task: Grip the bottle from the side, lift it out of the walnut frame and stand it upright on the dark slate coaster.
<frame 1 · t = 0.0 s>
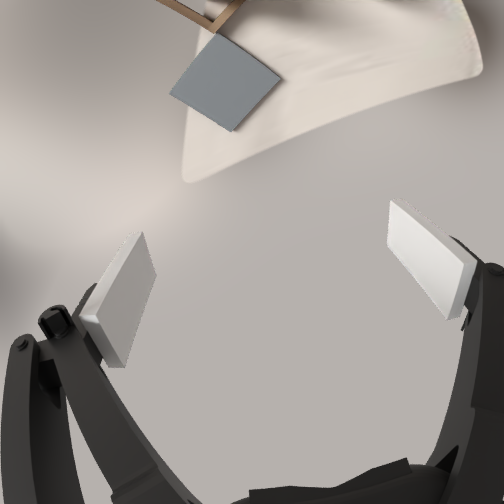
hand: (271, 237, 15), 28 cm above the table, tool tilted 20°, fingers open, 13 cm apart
slate coaster: (224, 82, 33), on the table
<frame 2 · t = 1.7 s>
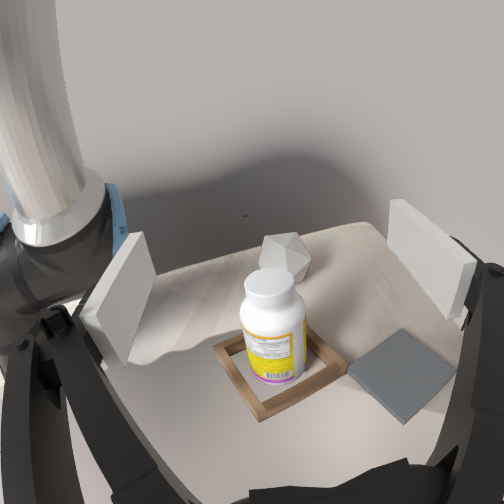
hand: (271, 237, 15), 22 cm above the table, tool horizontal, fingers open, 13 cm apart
slate coaster: (403, 374, 30), on the table
die: (285, 280, 50), on the table
walnut frame: (278, 366, 34), on the table
supplement bottle: (278, 367, 34), resting in walnut frame
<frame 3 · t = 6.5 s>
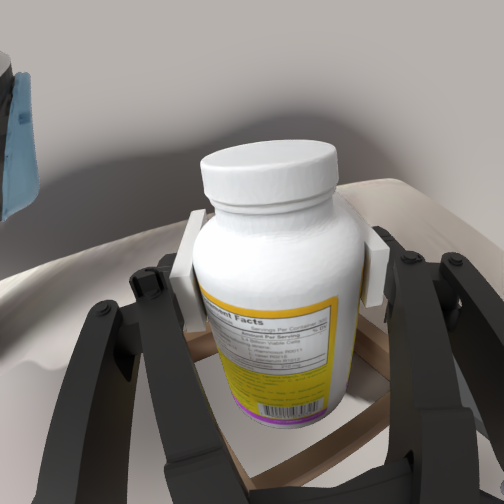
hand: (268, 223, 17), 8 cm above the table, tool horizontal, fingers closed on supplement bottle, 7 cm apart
walnut frame: (288, 384, 16), on the table
supplement bottle: (288, 386, 16), resting in walnut frame, touching gripper
when the fingers open (10 cm above the table, at t = 11.2 s): supplement bottle drops 1 cm, resting on slate coaster.
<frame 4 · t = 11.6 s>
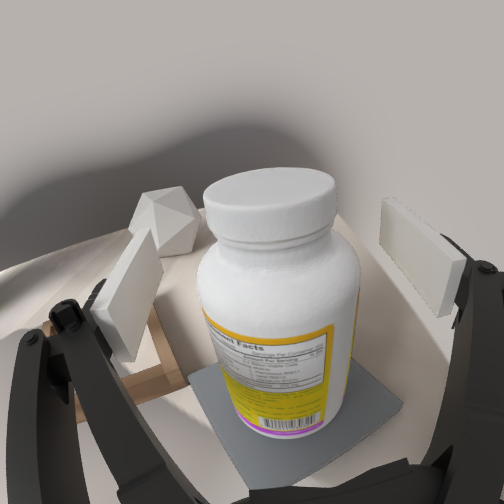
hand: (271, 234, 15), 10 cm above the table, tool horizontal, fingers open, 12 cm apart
slate coaster: (289, 401, 17), on the table
die: (173, 251, 37), on the table
walnut frame: (104, 359, 22), on the table
supplement bottle: (288, 398, 17), point 1 cm above the table, touching slate coaster
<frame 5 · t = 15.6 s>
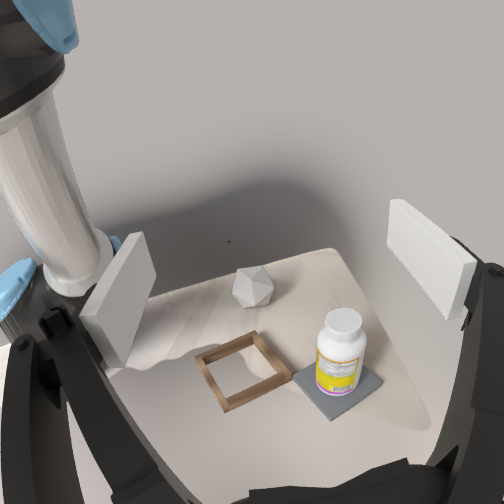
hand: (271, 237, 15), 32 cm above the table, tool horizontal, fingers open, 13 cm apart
slate coaster: (336, 382, 41), on the table
die: (255, 303, 62), on the table
walnut frame: (241, 372, 46), on the table
supplement bottle: (336, 381, 41), point 1 cm above the table, touching slate coaster
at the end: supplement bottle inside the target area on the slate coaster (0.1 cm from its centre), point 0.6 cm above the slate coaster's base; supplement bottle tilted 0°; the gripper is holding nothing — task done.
